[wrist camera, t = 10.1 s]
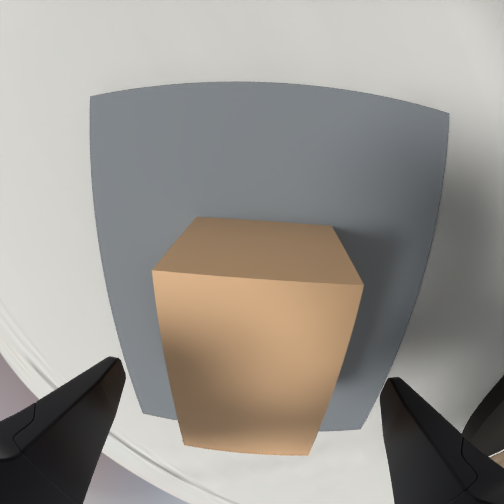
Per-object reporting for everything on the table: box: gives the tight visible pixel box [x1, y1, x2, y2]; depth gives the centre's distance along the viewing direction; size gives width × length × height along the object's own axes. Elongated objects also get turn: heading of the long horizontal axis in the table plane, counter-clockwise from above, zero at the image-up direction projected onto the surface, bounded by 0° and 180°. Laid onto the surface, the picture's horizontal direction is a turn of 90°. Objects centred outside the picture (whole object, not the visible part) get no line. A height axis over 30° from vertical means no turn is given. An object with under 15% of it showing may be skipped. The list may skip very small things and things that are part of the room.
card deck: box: [152, 217, 364, 456], centre depth 10 cm, size 5×8×4 cm, turn 178°
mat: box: [90, 82, 449, 431], centre depth 13 cm, size 18×14×1 cm
